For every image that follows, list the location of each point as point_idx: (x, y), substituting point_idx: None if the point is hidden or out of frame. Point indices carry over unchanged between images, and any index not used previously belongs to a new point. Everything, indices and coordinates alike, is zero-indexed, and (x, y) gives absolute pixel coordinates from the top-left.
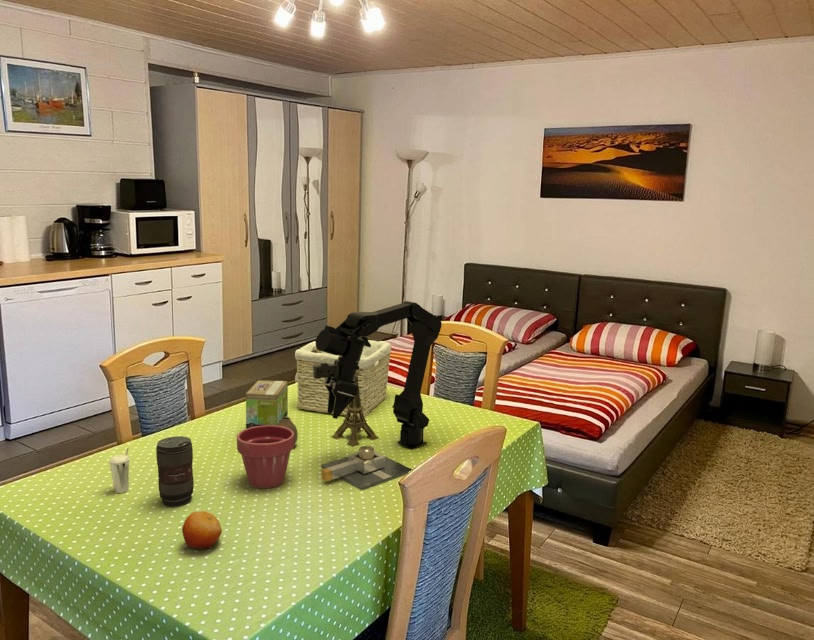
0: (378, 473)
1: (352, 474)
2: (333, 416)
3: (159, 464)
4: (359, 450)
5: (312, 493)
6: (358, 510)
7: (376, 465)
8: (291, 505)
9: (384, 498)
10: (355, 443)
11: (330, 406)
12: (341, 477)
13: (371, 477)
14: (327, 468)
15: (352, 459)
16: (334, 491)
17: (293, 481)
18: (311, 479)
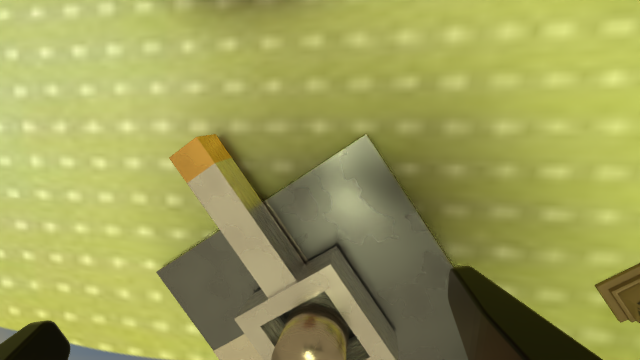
0: None
1: None
2: (14, 339)
3: None
4: (298, 330)
5: (139, 98)
6: (39, 240)
7: None
8: (53, 26)
9: (111, 322)
10: (621, 306)
11: (488, 348)
12: None
13: (229, 314)
14: (209, 163)
15: (302, 277)
16: (154, 177)
17: (238, 16)
18: (252, 92)
